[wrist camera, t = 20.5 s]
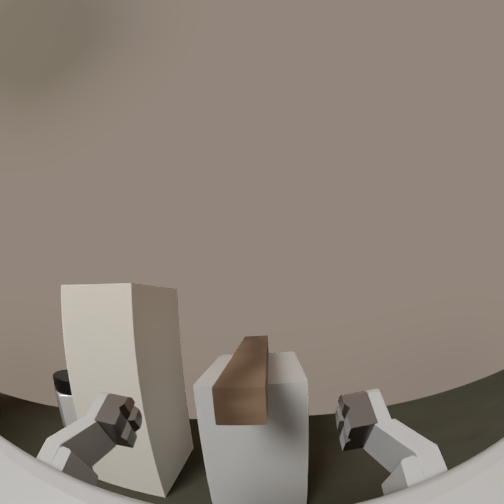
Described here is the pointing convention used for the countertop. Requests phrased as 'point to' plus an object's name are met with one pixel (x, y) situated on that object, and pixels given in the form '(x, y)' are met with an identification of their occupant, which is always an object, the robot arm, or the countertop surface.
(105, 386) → the tall stand
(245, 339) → the bar
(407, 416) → the countertop surface
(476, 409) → the countertop surface
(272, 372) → the low stand
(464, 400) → the countertop surface
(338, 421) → the robot arm
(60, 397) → the jar
